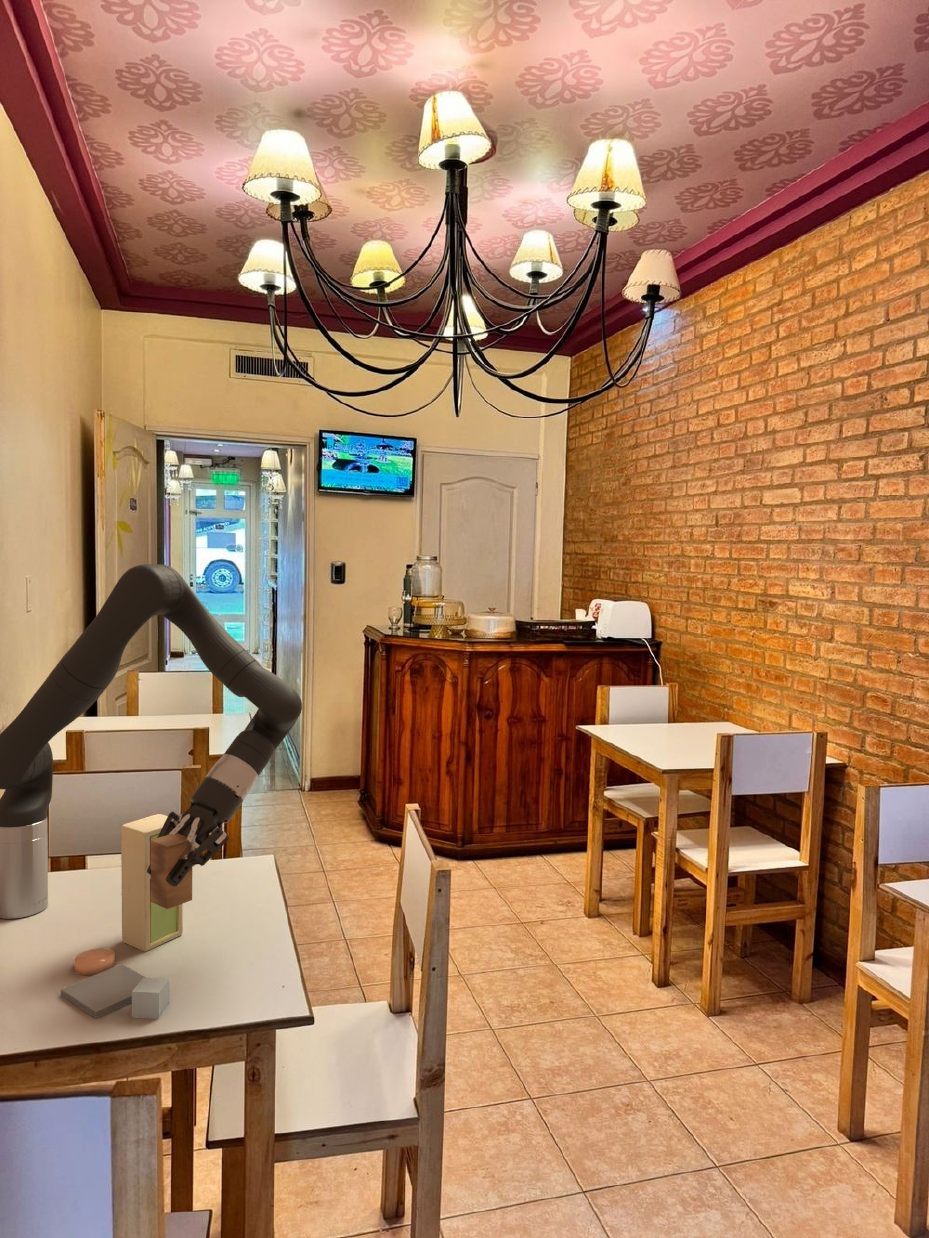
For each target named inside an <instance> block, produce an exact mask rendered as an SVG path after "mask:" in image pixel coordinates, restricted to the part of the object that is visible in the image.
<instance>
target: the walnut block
mask: <svg viewBox="0 0 929 1238" xmlns="http://www.w3.org/2000/svg"><path fill="white" fill-rule="evenodd" d="M188 841H189V840H187V837H186V836H183V835H180V834H175V835H174V834H170V835H166V836H163V837H159V838H156V839H152V840H151V902H153V903H155V904H157V905H159V906H161V907H163V908H165V909H170V908H172V907H175V906H178V905H180V904H185V903H188V902H190V901H193V867H191V868H190V869H189V871H188V872H187V874H186V875H185V877H184V878H183V879H182V881H181V882H180V883H179V884H178V885H177V886H175V887H174V886H172V885H170V884H169V883H168V882H166V877H167V876H168V874H169V873H170V871H171V870H172V869H173V867H174V866H175V864H176V863H177V862H178V860H179V859H181V860H182V854H183V852H184V851H185V849H186V848H187V846H188V845H187V842H188ZM191 853H193V851H192V852H191Z"/></svg>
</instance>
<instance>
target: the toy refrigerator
mask: <svg viewBox="0 0 929 1238" xmlns="http://www.w3.org/2000/svg"><path fill="white" fill-rule="evenodd" d="M167 817H168V815H165V814H161V813H157V814H153V815H150V816H147V817H144V818H140V819H137V820H132V821H130V822H127V823H124V824H122V825H121V828H120V838H121V839H120V840H121V842H120V846H121V847H120V848H121V851H120V855H121V857H120V860H121V939H122V940H121V941H122V942H123V943H124V944H127V945H129V946H131V947H134V948H136V949H138V950H140V951H142V952H149V951H150V950H152V949H155V948H157V947H159V946H161V945H164V944H165V943H167V942H170V941H171V940H174V939H176V938H178V937H179V936H182V935H183V930H184V929H183V924H184V923H183V919H184V918H183V917H184V916H183V915H184V914H183V909H184V907H183V904H184V903H183V904H180V905H178V906H175V907H172V908H170V909H165V908H163V907H161V906H159V905H157V904H155V903H153V902H151V875H150V874H148V873H147V869H148V867H149V865H150V864H151V840H152V839H156V838H157V837H158V835H159V833H160V831H161V829H162V827H163V825H164V823H165V821H166V819H167Z"/></svg>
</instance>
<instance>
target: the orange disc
mask: <svg viewBox="0 0 929 1238" xmlns="http://www.w3.org/2000/svg"><path fill="white" fill-rule="evenodd" d="M73 960H74V961H73V962H74V964H73V966H74V968H73V971H74V972H75V973H76V974H78V975H81V976H94V975H96V974H99V973H101V972H103V971H106V970H108V969H111V968H113V967H114V965H115V952H114V950H112V949H109V948H106V947H105V948H104V947H102V948H99V947H98V948H93V949H88V950H85V951H83V952H81V953H79V954H77V955H76V956H75V957H74V959H73Z"/></svg>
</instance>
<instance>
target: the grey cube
mask: <svg viewBox="0 0 929 1238" xmlns="http://www.w3.org/2000/svg"><path fill="white" fill-rule="evenodd" d="M170 980H171V979H170V978H167V977H165V978H162V977H160V978H159V977H146V978H143V979H142V980H141V981H140V982H139V983H138V985H137V986H136V987H135V988H134V990H133V991H132V1002H131V1018H132V1019H133V1018H134V1019H138V1018H139V1019H160V1018H161V1017H162V1016H163V1013H164V1012H165V1010H167V1008H168V1007H169V1005H170V1002H171V1001H170V997H171V995H170V989H171V988H170V987H171V986H170V983H171V982H170Z"/></svg>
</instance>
